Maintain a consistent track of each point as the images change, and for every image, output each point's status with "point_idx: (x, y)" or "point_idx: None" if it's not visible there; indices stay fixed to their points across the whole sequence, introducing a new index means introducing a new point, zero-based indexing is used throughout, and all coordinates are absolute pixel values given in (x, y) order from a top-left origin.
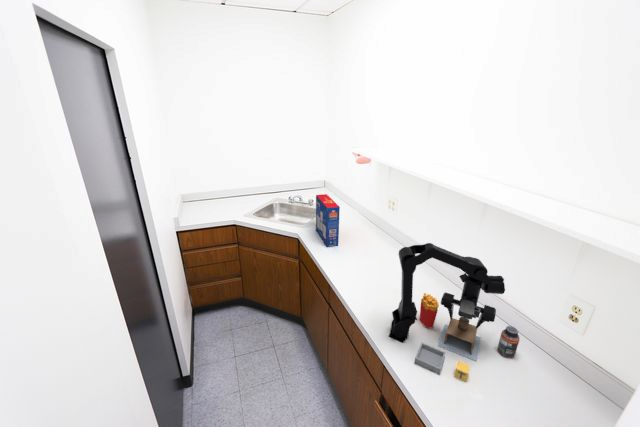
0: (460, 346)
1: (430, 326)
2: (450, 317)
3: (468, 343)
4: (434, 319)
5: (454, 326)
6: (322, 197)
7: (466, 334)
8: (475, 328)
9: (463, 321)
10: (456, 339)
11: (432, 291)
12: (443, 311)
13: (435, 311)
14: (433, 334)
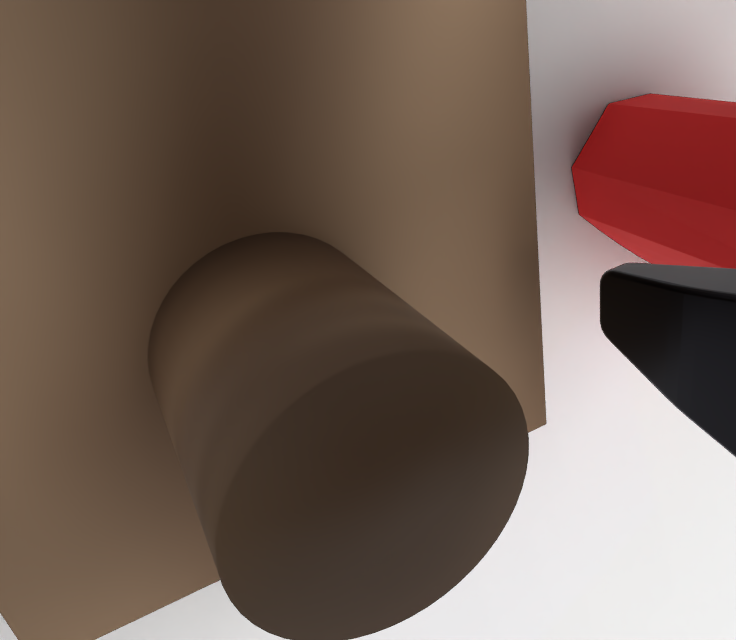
0: None
1: (614, 127)
2: (704, 268)
3: None
4: (702, 186)
5: (424, 236)
6: None
7: (70, 192)
8: (36, 589)
9: (382, 415)
10: None
11: (679, 637)
12: (540, 520)
13: None
14: (529, 20)
